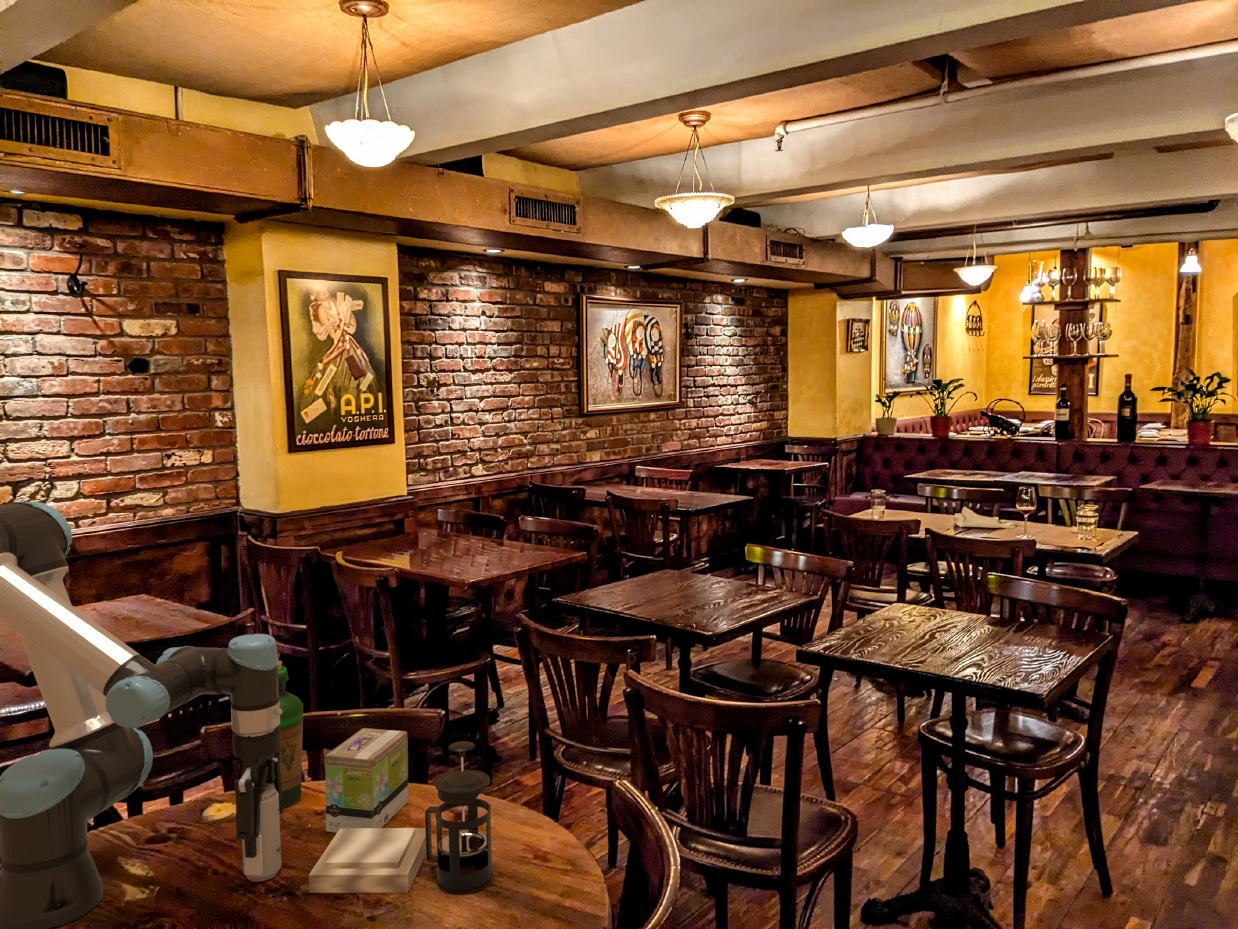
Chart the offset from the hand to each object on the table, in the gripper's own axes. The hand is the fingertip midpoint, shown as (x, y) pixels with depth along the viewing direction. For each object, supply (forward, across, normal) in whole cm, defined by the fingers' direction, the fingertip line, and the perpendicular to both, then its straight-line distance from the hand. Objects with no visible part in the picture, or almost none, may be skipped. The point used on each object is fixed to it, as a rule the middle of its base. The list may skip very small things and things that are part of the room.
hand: (262, 863), depth 155 cm
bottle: (+2, +28, +8) cm, 29 cm away
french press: (+2, -2, -34) cm, 34 cm away
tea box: (+2, +21, -12) cm, 24 cm away
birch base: (+2, +2, -18) cm, 18 cm away
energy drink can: (+2, 0, 0) cm, 2 cm away
